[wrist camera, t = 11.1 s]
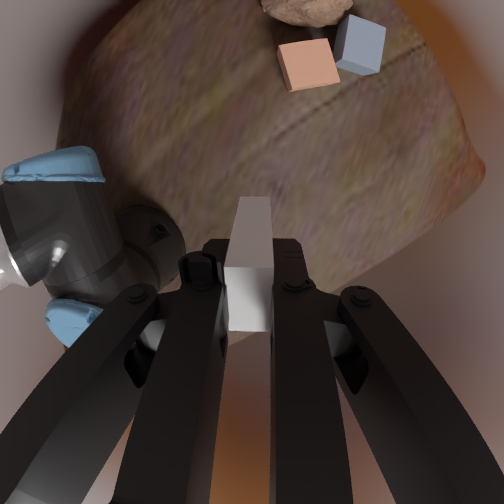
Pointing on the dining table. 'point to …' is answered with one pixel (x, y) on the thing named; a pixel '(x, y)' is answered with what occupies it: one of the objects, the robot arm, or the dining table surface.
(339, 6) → the stone
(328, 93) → the dining table surface
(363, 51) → the slate block
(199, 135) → the dining table surface
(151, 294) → the robot arm
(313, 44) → the terracotta block
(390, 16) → the dining table surface
